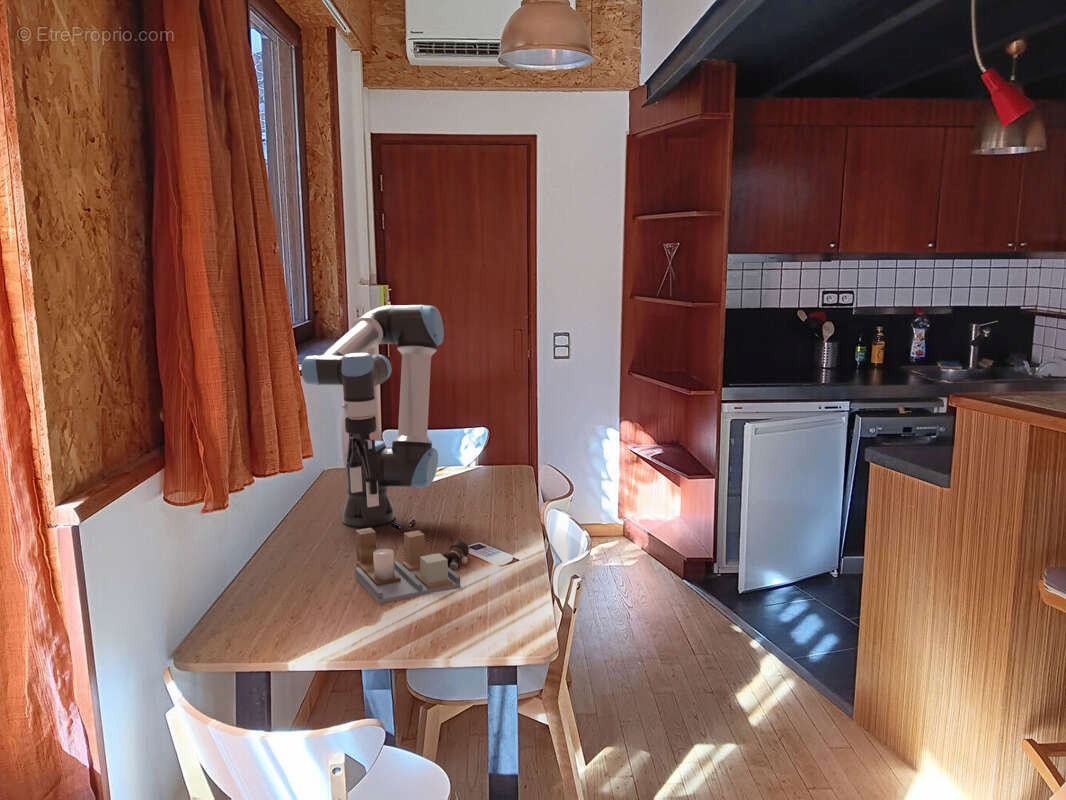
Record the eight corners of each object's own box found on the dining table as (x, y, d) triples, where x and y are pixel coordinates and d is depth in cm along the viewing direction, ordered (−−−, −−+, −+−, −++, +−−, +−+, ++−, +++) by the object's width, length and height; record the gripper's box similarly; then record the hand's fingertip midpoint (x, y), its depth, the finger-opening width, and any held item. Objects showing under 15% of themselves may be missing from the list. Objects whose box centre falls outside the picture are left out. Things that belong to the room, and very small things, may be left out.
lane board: (354, 576, 205) (352, 541, 204) (431, 562, 215) (429, 528, 213) (378, 603, 189) (377, 565, 187) (460, 586, 198) (459, 550, 197)
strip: (353, 561, 213) (351, 530, 212) (375, 556, 216) (374, 527, 215) (376, 586, 197) (374, 553, 195) (400, 581, 199) (399, 549, 198)
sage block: (420, 576, 200) (419, 556, 199) (440, 572, 202) (439, 553, 202) (428, 583, 196) (427, 563, 195) (448, 579, 198) (447, 559, 197)
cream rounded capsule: (371, 574, 201) (370, 551, 200) (390, 571, 204) (389, 547, 203) (377, 581, 197) (376, 557, 196) (397, 577, 199) (396, 553, 198)
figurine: (463, 576, 209) (478, 555, 218) (461, 558, 208) (477, 538, 216) (433, 572, 212) (449, 552, 221) (430, 555, 211) (447, 535, 219)
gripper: (331, 409, 215) (336, 488, 220) (360, 427, 194) (365, 515, 198) (360, 406, 219) (364, 484, 223) (391, 423, 197) (395, 509, 201)
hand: (364, 498), depth 211 cm, fingers open, 13 cm apart
